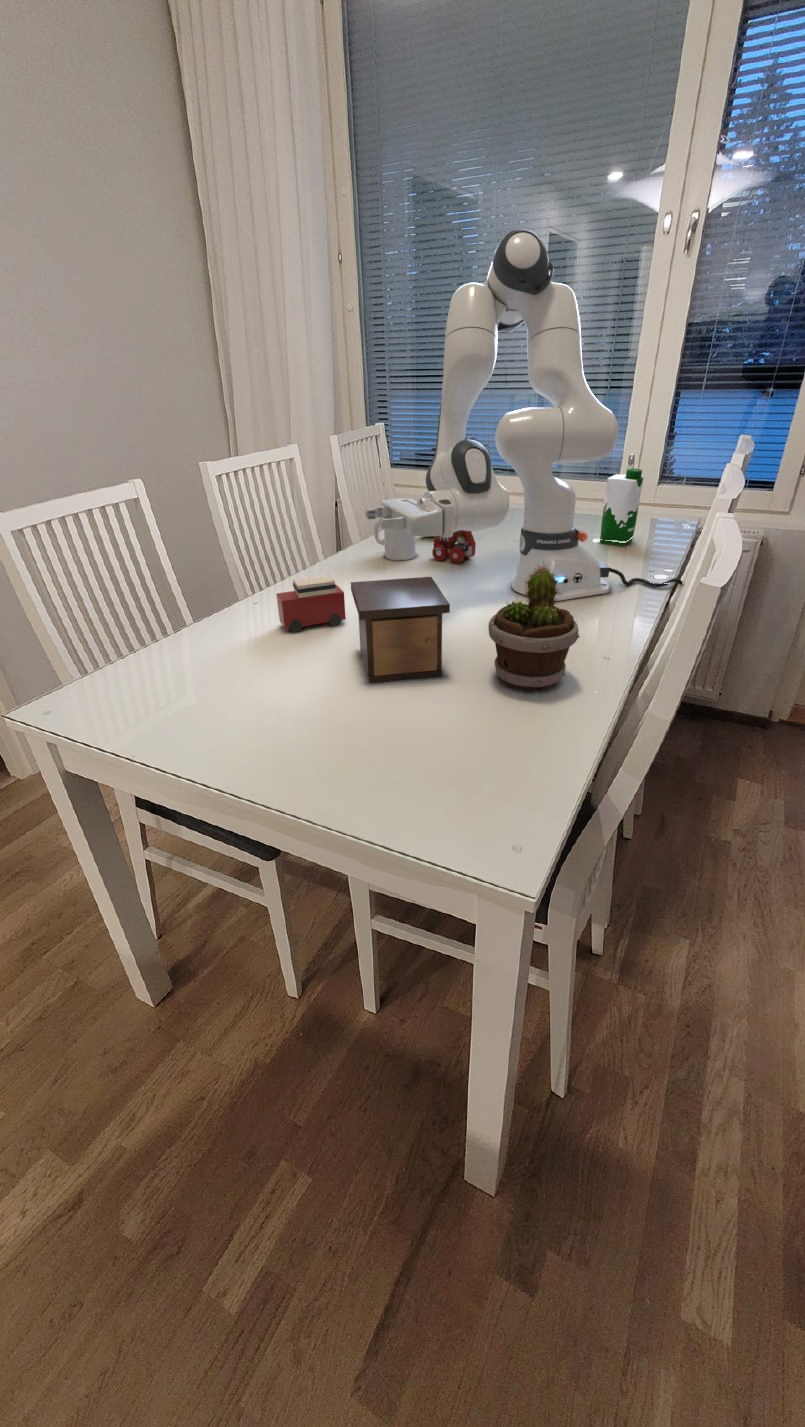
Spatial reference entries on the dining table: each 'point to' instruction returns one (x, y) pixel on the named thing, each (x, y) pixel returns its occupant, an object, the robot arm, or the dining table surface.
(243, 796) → the dining table surface
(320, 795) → the dining table surface
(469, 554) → the toy fire truck
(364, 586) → the cabinet
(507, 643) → the flowerpot
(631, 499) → the milk carton
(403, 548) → the mug
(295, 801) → the dining table surface
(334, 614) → the car
